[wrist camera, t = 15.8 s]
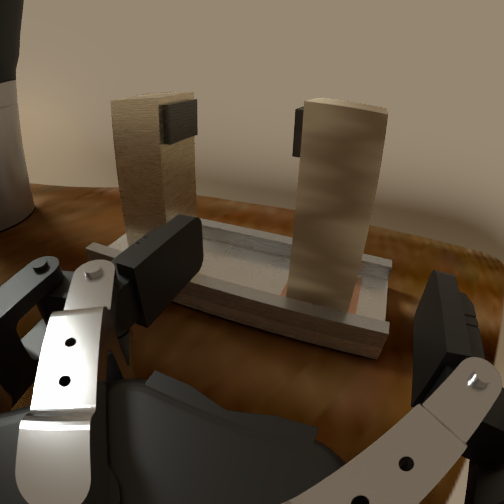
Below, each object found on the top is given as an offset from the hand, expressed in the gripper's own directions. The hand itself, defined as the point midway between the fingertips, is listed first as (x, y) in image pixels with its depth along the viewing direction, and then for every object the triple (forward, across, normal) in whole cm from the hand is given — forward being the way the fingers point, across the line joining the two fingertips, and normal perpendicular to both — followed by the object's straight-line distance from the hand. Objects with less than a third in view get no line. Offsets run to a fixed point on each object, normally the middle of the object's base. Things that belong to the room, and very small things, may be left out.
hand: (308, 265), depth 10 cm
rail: (+9, +7, +8) cm, 14 cm away
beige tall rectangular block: (+9, 0, +7) cm, 11 cm away
